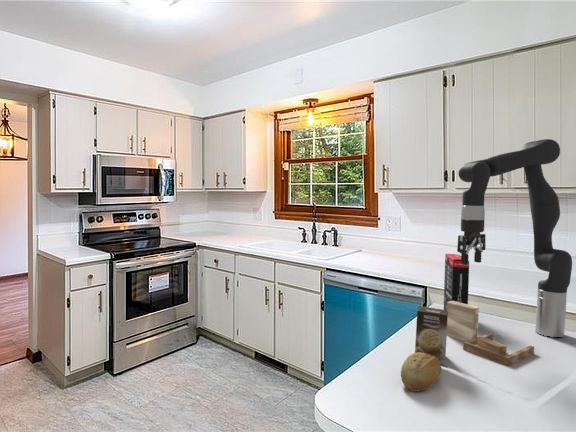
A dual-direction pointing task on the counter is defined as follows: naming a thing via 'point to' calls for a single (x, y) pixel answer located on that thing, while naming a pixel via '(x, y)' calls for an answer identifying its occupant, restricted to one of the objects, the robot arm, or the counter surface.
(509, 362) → the rack
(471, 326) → the tall beige block
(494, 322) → the counter surface
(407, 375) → the bread roll
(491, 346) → the slat top
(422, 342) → the coffee box
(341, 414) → the counter surface
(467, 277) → the graphics card box
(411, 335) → the counter surface
